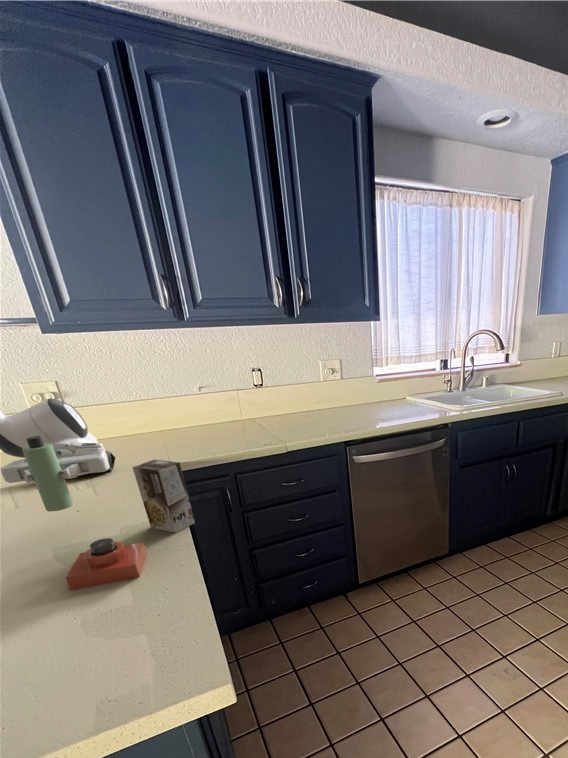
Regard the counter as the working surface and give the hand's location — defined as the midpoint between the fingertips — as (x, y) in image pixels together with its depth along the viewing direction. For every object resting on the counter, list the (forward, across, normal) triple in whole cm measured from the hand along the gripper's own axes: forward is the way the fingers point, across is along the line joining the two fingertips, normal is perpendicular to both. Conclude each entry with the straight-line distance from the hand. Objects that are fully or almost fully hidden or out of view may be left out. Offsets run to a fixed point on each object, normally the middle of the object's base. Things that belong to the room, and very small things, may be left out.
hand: (46, 476), depth 93 cm
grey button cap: (+17, +11, +12) cm, 24 cm away
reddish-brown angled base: (+17, +12, +17) cm, 27 cm away
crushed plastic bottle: (-61, -14, +17) cm, 65 cm away
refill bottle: (-1, 0, +8) cm, 8 cm away
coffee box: (-2, +22, +17) cm, 27 cm away
